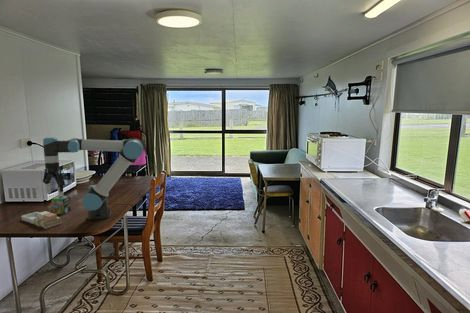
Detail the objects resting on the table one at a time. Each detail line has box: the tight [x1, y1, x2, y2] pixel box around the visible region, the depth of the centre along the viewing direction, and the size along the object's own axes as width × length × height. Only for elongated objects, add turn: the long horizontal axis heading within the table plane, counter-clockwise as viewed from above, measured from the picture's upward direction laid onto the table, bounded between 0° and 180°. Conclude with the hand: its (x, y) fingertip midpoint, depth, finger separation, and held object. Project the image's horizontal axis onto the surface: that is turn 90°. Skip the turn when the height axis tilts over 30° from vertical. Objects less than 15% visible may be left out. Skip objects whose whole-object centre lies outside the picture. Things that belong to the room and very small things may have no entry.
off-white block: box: [38, 210, 51, 219], centre depth 195 cm, size 6×5×3 cm
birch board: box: [33, 216, 63, 230], centre depth 194 cm, size 14×10×4 cm
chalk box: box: [50, 195, 72, 215], centre depth 216 cm, size 9×9×15 cm
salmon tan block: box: [44, 212, 58, 221], centre depth 191 cm, size 6×5×3 cm
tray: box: [21, 211, 40, 225], centre depth 201 cm, size 16×10×3 cm, turn 61°
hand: (54, 194), depth 187 cm, fingers open, 13 cm apart
